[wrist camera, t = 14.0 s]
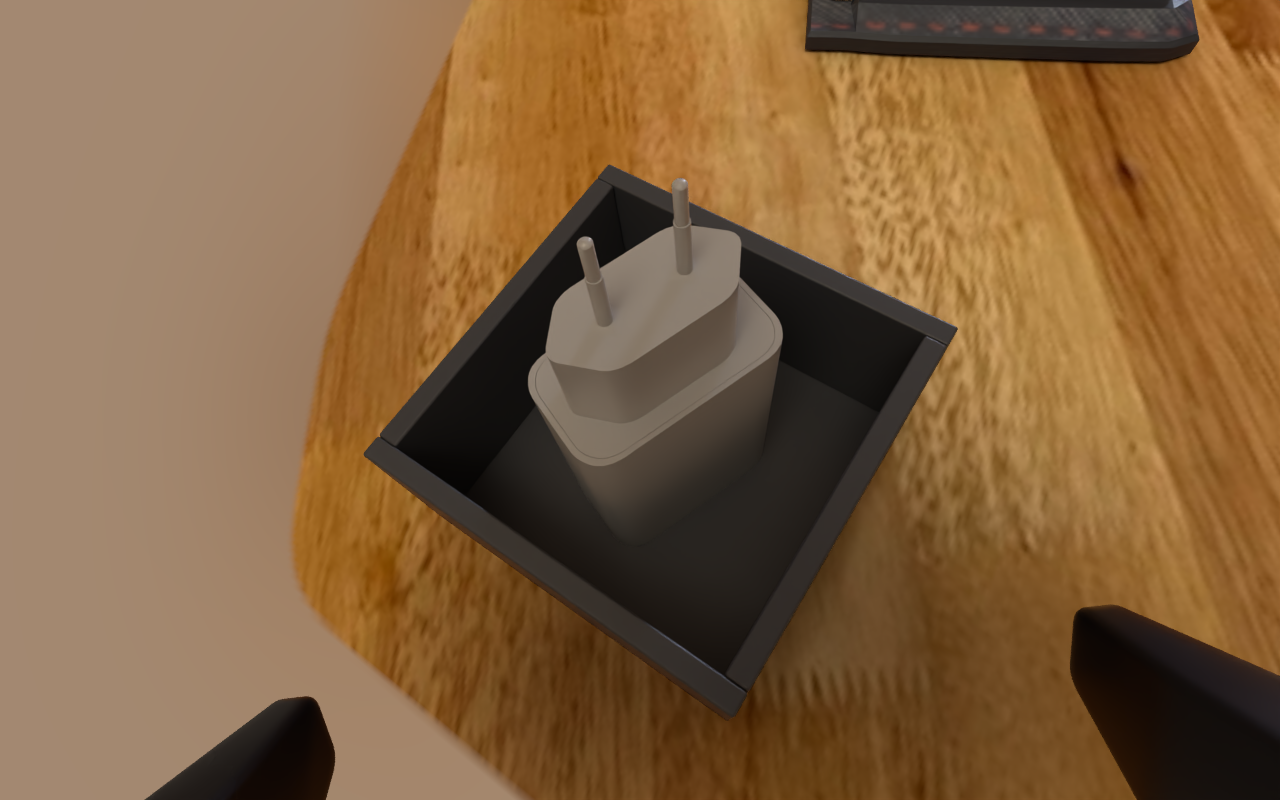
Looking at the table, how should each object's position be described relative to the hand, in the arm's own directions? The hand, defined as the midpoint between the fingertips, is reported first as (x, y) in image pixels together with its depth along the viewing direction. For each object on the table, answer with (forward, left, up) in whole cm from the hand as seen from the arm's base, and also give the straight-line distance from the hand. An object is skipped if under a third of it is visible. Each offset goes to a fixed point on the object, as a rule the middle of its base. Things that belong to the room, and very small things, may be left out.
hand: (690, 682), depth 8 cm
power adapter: (+5, +4, -12) cm, 14 cm away
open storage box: (+5, +5, -12) cm, 14 cm away
